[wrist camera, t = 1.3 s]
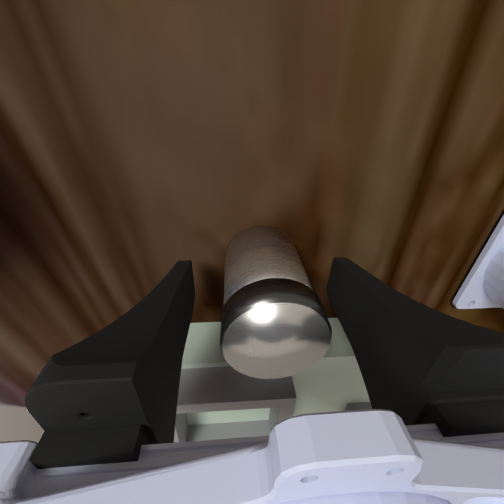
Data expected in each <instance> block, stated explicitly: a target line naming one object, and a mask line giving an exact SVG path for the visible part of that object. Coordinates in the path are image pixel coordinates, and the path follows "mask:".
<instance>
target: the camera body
mask: <svg viewBox="0 0 504 504" xmlns="http://www.w3.org/2000/svg"><path fill="white" fill-rule="evenodd" d="M328 320H329V322H330V325H331V329H332V337H331V342H330V346H329V349H328V350H327V352H326V354H325V355H324V356H323V358H322V359H321V360H320V361H319V362H317V363H316V364H315V365H314V366H312V367H310V368H309V369H307V370H305V371H303V372H301V373H298V374H295V375H292V376H288V377H284V378H276V379H262V378H255V377H250V376H247V375H244V374H242V373H240V372H238V371H236V370H235V369H233V368H232V367H231V366H230V365H229V364H228V363H227V361H226V359H225V358H224V356H223V354H222V352H221V349H220V327H221V322H203V323H190V327H189V331H188V336H187V340H186V344H185V349H184V354H183V359H182V367H181V375H180V384H179V393H178V402H177V412H176V422H175V433H174V443H176V442H190V441H203V440H217V439H230V438H244V437H257V436H269V434H270V433H271V431H272V430H273V428H274V427H275V425H276V424H277V423H278V422H280V421H282V420H284V419H286V418H288V417H290V416H295V415H300V414H306V413H321V412H336V411H350V410H365V409H372V406H371V403H370V400H369V396H368V393H367V390H366V386H365V383H364V380H363V377H362V374H361V371H360V368H359V365H358V363H357V360H356V357H355V354H354V352H353V349H352V347H351V345H350V342H349V340H348V338H347V336H346V334H345V332H344V330H343V328H342V326H341V324H340V322H339V320H338V318H328Z"/></svg>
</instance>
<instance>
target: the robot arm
mask: <svg viewBox="0 0 504 504" xmlns="http://www.w3.org/2000/svg"><path fill="white" fill-rule="evenodd" d="M327 292H328V296H329V299H330V302H331V305H332V307H333V309H334V311H335V314H336V316H337V318H338V320H339V322H340V324H341V326H342V328H343V330H344V332H345V334H346V336H347V338H348V340H349V342H350V345H351V347H352V349H353V352H354V354H355V357H356V360H357V363H358V365H359V368H360V371H361V374H362V377H363V380H364V383H365V386H366V390H367V393H368V396H369V400H370V403H371V406H372V409H365V410H350V411H336V412H321V413H306V414H300V415H295V416H290V417H288V418H286V419H284V420H282V421H280V422H278V423H277V424H276V425H275V427H274V428H273V430H272V431H271V433H270V434H269V436H257V437H244V438H230V439H217V440H203V441H190V442H176V443H174V433H175V422H176V412H177V402H178V393H179V384H180V375H181V367H182V359H183V354H184V349H185V344H186V340H187V336H188V331H189V327H190V323H191V318H192V314H193V308H194V299H195V288H194V279H193V271H192V262H191V261H178V262H177V263H176V264H175V265H174V267H173V268H172V269H171V270H170V271H169V273H168V274H167V275H166V276H165V277H164V278H163V279H162V281H161V282H160V283H159V284H158V285H157V286H156V287H155V288H154V289H153V290H152V291H151V292H150V293H149V294H148V295H147V296H146V297H145V298H144V299H143V300H142V301H140V302H139V303H138V304H137V305H136V306H135V307H133V308H132V309H131V310H130V311H128V312H127V313H126V314H124V315H123V316H121V317H120V318H118V319H117V320H116V321H114V322H113V323H111V324H110V325H108V326H107V327H105V328H103V329H102V330H100V331H99V332H97V333H95V334H93V335H92V336H90V337H88V338H86V339H85V340H83V341H81V342H79V343H77V344H75V345H73V346H71V347H69V348H67V349H65V350H63V351H61V352H59V353H57V354H55V355H53V356H52V357H51V358H50V360H49V361H48V363H47V364H46V365H45V367H44V368H43V370H42V371H41V373H40V374H39V376H38V377H37V379H36V380H35V382H34V384H33V385H32V387H31V388H30V390H29V391H28V393H27V394H26V396H25V405H26V407H27V409H28V411H29V413H31V415H32V416H33V417H34V419H35V420H36V421H37V422H38V423H39V424H40V426H41V427H42V428H43V429H44V431H45V432H44V433H43V435H42V437H41V439H40V441H39V443H36V442H34V441H28V440H27V441H26V440H22V441H7V442H0V504H504V334H503V333H500V332H497V331H493V330H490V329H487V328H484V327H480V326H477V325H474V324H471V323H468V322H465V321H462V320H460V319H457V318H454V317H452V316H449V315H446V314H444V313H441V312H439V311H437V310H434V309H432V308H430V307H428V306H425V305H423V304H421V303H419V302H417V301H415V300H413V299H411V298H409V297H407V296H405V295H403V294H402V293H400V292H398V291H396V290H395V289H393V288H391V287H390V286H388V285H386V284H385V283H383V282H382V281H380V280H379V279H377V278H375V277H374V276H372V275H371V274H369V273H368V272H367V271H365V270H364V269H362V268H361V267H359V266H358V265H356V264H355V263H353V262H352V261H350V260H349V259H347V258H334V259H333V263H332V267H331V271H330V276H329V280H328V284H327ZM452 303H453V305H454V306H455V307H456V308H457V309H474V308H503V309H504V214H503V216H502V218H501V219H500V221H499V223H498V225H497V226H496V228H495V230H494V231H493V233H492V235H491V236H490V238H489V240H488V242H487V243H486V245H485V247H484V248H483V250H482V252H481V254H480V255H479V257H478V259H477V260H476V262H475V264H474V265H473V267H472V269H471V271H470V272H469V274H468V276H467V277H466V279H465V281H464V282H463V284H462V286H461V288H460V289H459V291H458V293H457V294H456V296H455V298H454V299H453V302H452Z"/></svg>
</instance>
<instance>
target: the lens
mask: <svg viewBox="0 0 504 504" xmlns="http://www.w3.org/2000/svg"><path fill="white" fill-rule="evenodd" d="M331 337H332V329H331V325H330V322H329V320H328V318H327V315H326V313H325V311H324V308H323V306H322V304H321V301H320V299H319V297H318V296H317V294H316V293H315V292H314V291H313V289H312V286H311V284H310V281H309V279H308V277H307V274H306V272H305V269H304V267H303V265H302V262H301V260H300V257H299V255H298V253H297V250H296V248H295V245H294V243H293V241H292V239H291V238H290V237H289V236H288V235H287V234H286V233H285V232H283V231H282V230H280V229H278V228H275V227H272V226H264V225H261V226H253V227H250V228H247V229H245V230H243V231H241V232H239V233H238V234H237V235H235V236H234V237H233V238H232V240H231V241H230V242H229V244H228V246H227V249H226V253H225V276H224V307H223V309H222V313H221V327H220V349H221V352H222V354H223V356H224V358H225V359H226V361H227V363H228V364H229V365H230V366H231V367H232V368H233V369H235V370H236V371H238V372H240V373H242V374H244V375H247V376H250V377H255V378H262V379H276V378H284V377H288V376H292V375H295V374H298V373H301V372H303V371H305V370H307V369H309V368H310V367H312V366H314V365H315V364H316V363H317V362H319V361H320V360H321V359H322V358H323V356H324V355H325V354H326V352H327V350H328V349H329V346H330V342H331Z"/></svg>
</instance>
